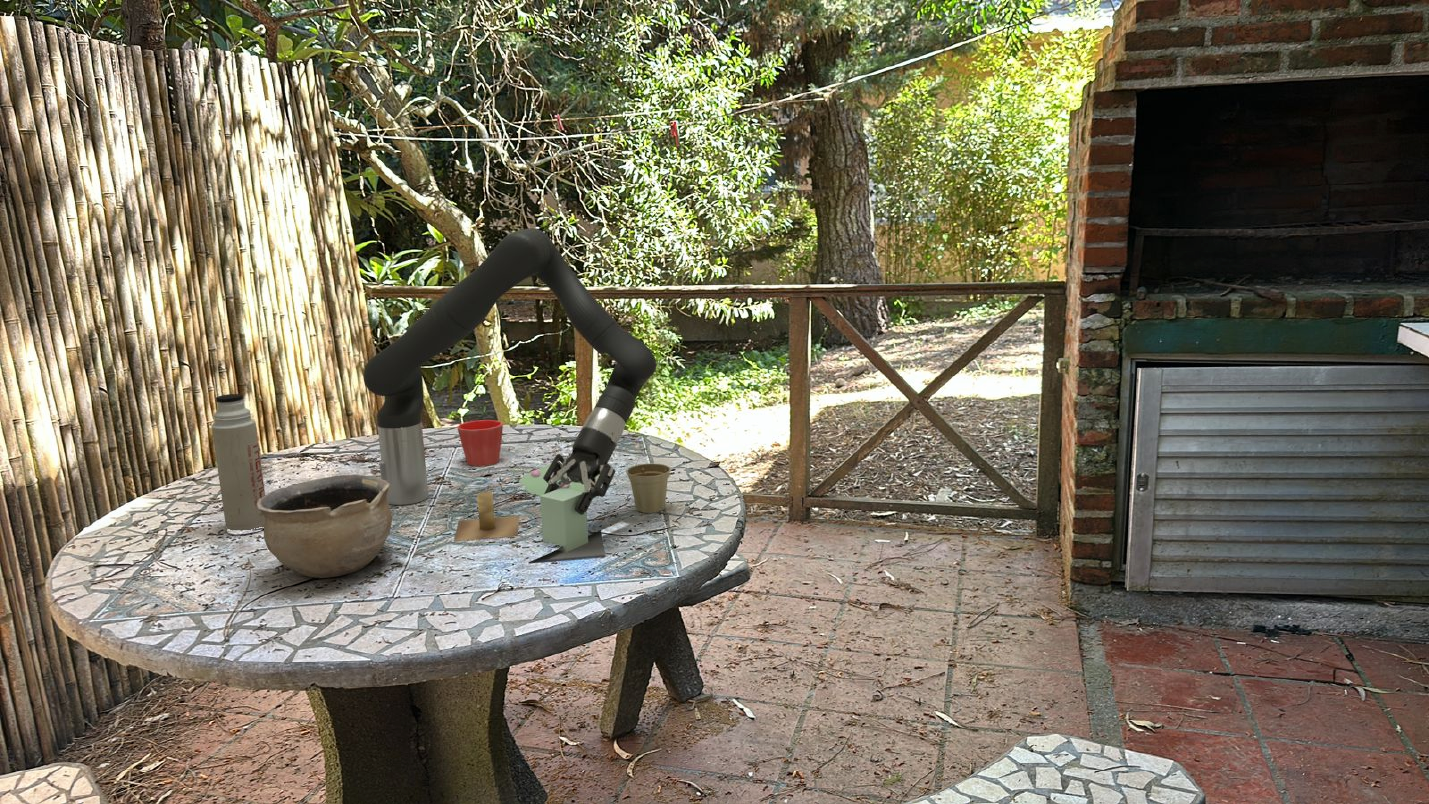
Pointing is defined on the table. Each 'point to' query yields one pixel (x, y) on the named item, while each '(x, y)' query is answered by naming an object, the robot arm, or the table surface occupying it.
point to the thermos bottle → (238, 463)
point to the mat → (577, 551)
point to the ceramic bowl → (327, 524)
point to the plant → (539, 485)
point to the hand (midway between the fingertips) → (561, 508)
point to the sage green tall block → (563, 519)
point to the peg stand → (486, 522)
